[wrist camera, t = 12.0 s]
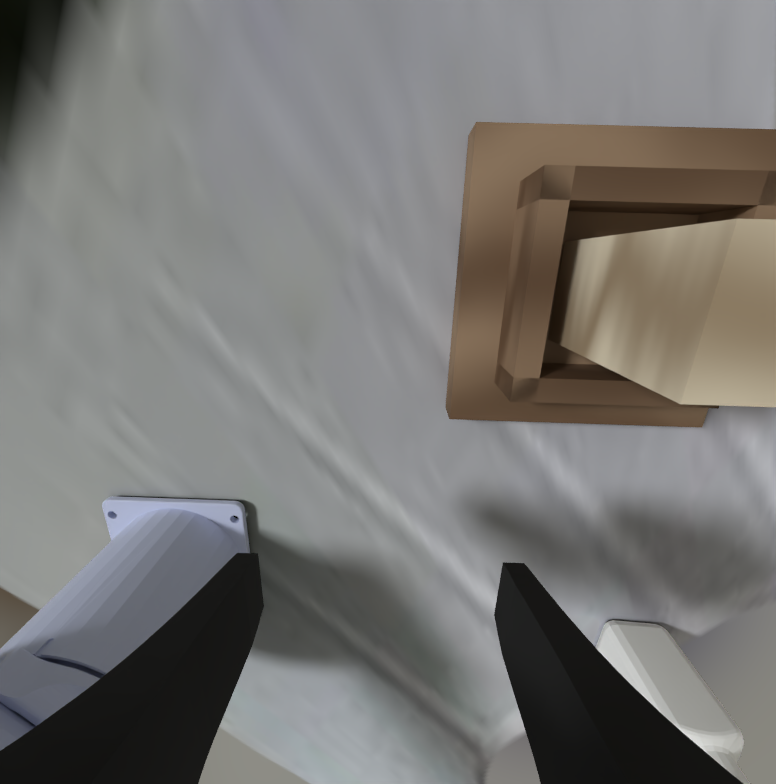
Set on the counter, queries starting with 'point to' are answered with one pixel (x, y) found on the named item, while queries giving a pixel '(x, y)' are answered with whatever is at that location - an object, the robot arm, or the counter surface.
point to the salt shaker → (673, 688)
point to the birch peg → (676, 309)
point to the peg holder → (568, 223)
